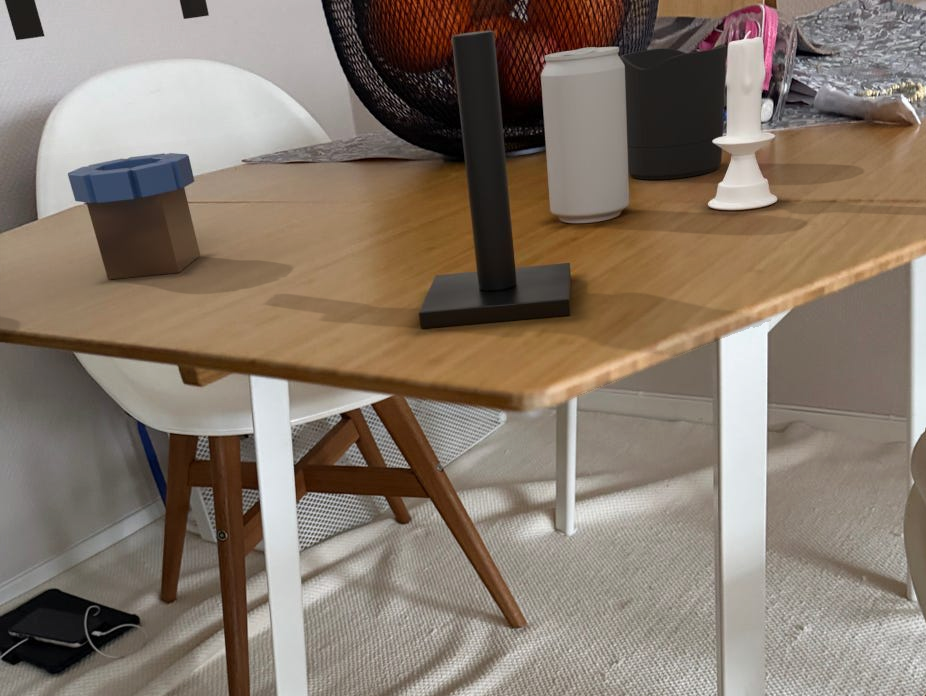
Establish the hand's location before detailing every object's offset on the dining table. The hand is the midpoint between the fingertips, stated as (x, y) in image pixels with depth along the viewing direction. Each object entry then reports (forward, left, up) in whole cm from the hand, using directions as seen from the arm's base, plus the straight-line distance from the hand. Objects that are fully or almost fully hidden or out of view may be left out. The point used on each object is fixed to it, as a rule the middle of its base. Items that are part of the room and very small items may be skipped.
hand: (112, 28), depth 80 cm
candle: (+46, +3, -17) cm, 49 cm away
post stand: (+28, -20, -17) cm, 38 cm away
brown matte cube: (-2, +1, -17) cm, 17 cm away
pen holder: (+42, +21, -18) cm, 50 cm away
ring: (-2, +1, -11) cm, 12 cm away
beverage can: (+34, +4, -17) cm, 39 cm away
